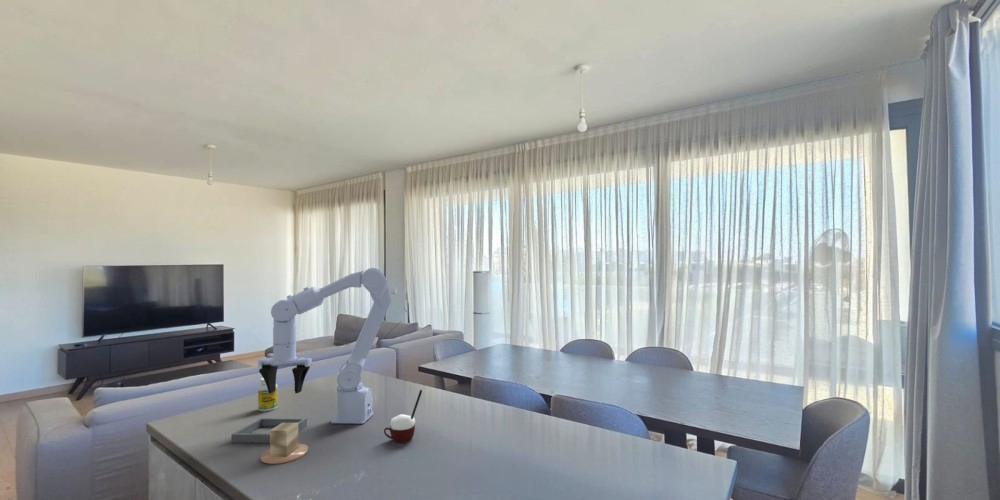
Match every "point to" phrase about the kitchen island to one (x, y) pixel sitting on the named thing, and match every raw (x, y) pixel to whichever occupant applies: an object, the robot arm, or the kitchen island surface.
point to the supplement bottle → (267, 397)
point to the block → (283, 439)
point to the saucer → (294, 455)
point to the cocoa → (403, 426)
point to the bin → (246, 435)
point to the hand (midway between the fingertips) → (285, 392)
